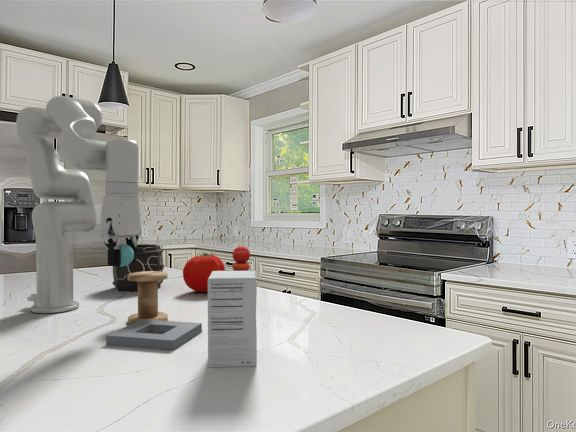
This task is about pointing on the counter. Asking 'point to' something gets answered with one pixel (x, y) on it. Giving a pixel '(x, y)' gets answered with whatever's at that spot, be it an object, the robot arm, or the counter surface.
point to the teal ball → (126, 254)
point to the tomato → (201, 271)
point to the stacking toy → (241, 259)
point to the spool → (147, 296)
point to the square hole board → (142, 336)
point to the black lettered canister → (139, 267)
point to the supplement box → (232, 319)
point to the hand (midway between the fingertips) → (122, 263)
